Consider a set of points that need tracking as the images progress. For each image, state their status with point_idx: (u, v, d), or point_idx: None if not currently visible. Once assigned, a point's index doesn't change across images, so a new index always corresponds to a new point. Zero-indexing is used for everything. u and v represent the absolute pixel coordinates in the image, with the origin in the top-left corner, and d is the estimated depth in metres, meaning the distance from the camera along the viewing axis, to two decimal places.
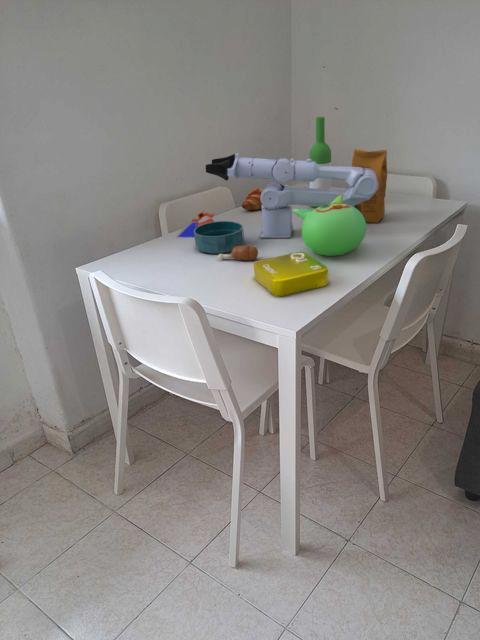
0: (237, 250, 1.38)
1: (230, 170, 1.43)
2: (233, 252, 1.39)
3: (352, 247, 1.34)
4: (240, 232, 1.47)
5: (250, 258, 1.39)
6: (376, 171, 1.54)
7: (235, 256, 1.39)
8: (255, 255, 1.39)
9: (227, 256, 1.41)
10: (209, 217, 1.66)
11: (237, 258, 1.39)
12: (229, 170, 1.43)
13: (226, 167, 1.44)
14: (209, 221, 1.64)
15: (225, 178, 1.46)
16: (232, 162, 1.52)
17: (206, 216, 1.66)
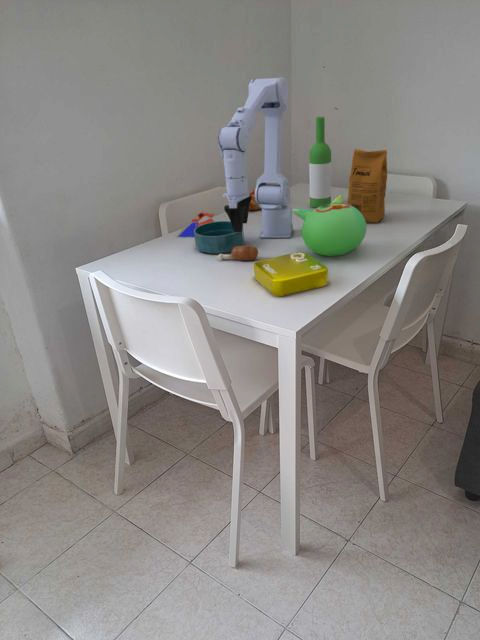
0: (237, 250, 1.38)
1: (230, 204, 1.26)
2: (233, 252, 1.39)
3: (352, 247, 1.34)
4: (240, 232, 1.47)
5: (250, 258, 1.39)
6: (376, 171, 1.54)
7: (235, 256, 1.39)
8: (255, 255, 1.39)
9: (227, 256, 1.41)
10: (209, 217, 1.66)
11: (237, 258, 1.39)
12: (230, 206, 1.26)
13: (229, 209, 1.28)
14: (209, 221, 1.64)
15: (242, 210, 1.28)
16: None
17: (206, 216, 1.66)
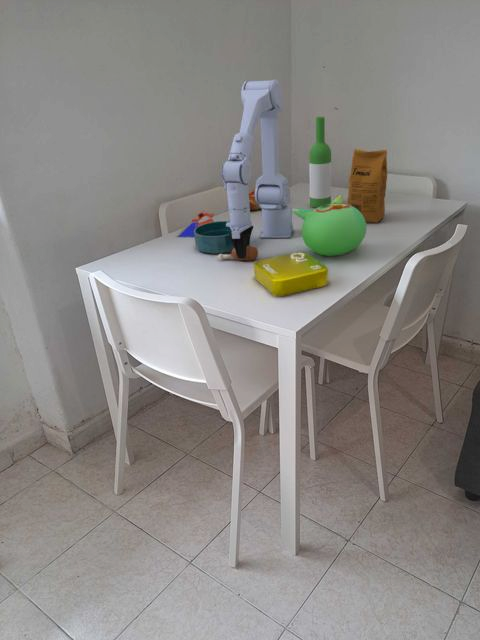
0: None
1: (233, 235, 1.30)
2: (233, 252, 1.39)
3: (352, 247, 1.34)
4: None
5: (250, 258, 1.39)
6: (376, 171, 1.54)
7: (235, 256, 1.39)
8: (255, 255, 1.39)
9: (227, 256, 1.41)
10: (209, 217, 1.66)
11: (237, 258, 1.39)
12: (233, 236, 1.30)
13: None
14: (209, 221, 1.64)
15: (245, 238, 1.33)
16: None
17: (206, 216, 1.66)
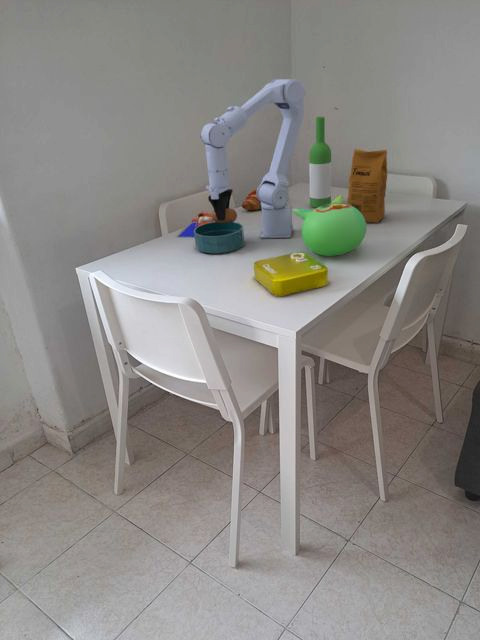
0: None
1: (212, 196, 1.36)
2: (213, 214, 1.45)
3: (352, 247, 1.34)
4: (240, 232, 1.47)
5: (229, 220, 1.45)
6: (376, 171, 1.54)
7: (215, 218, 1.45)
8: (234, 217, 1.45)
9: (207, 219, 1.47)
10: None
11: (217, 220, 1.46)
12: (212, 197, 1.37)
13: (213, 198, 1.39)
14: (209, 221, 1.64)
15: (224, 199, 1.39)
16: (220, 193, 1.45)
17: (206, 216, 1.66)
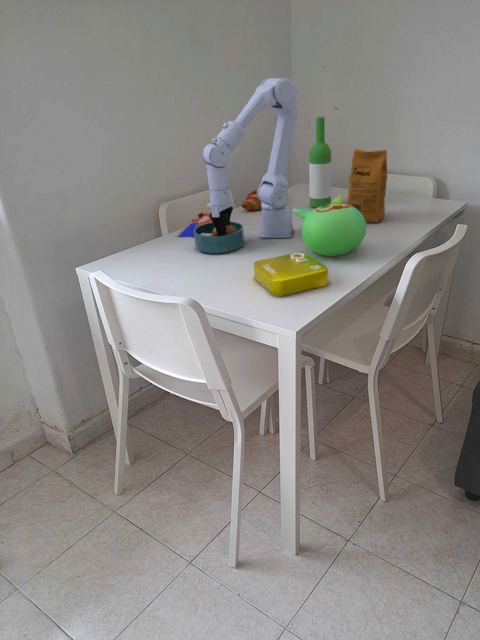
0: None
1: (213, 214, 1.40)
2: (214, 231, 1.49)
3: (352, 247, 1.34)
4: (240, 232, 1.47)
5: None
6: (376, 171, 1.54)
7: (216, 235, 1.49)
8: None
9: (208, 235, 1.50)
10: (209, 217, 1.66)
11: None
12: (213, 215, 1.40)
13: (214, 216, 1.43)
14: (209, 221, 1.64)
15: (225, 217, 1.43)
16: (221, 210, 1.49)
17: (206, 216, 1.66)
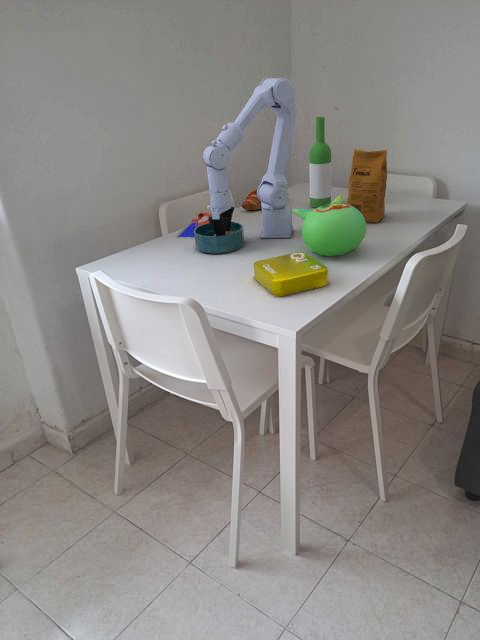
0: None
1: (213, 216, 1.40)
2: None
3: (352, 247, 1.34)
4: (240, 232, 1.47)
5: None
6: (376, 171, 1.54)
7: None
8: None
9: None
10: None
11: None
12: (213, 217, 1.40)
13: (213, 219, 1.42)
14: None
15: (224, 220, 1.42)
16: None
17: (206, 216, 1.66)
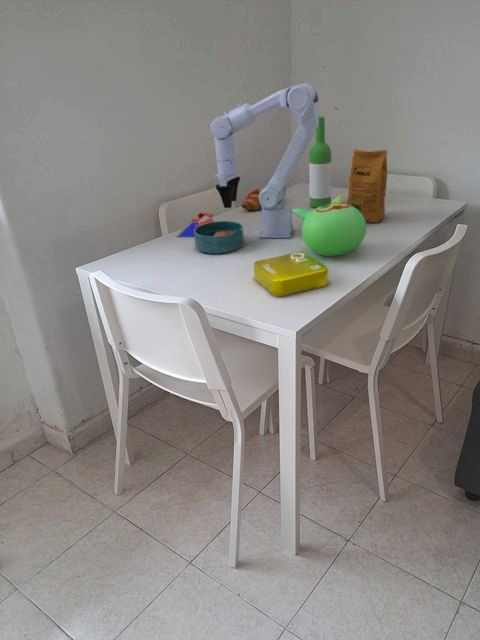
0: (218, 235, 1.49)
1: (220, 183, 1.47)
2: None
3: (352, 247, 1.34)
4: (240, 232, 1.47)
5: None
6: (376, 171, 1.54)
7: None
8: None
9: None
10: (209, 217, 1.66)
11: None
12: (221, 184, 1.48)
13: (220, 187, 1.49)
14: (209, 221, 1.64)
15: (230, 188, 1.49)
16: (229, 180, 1.57)
17: (206, 216, 1.66)
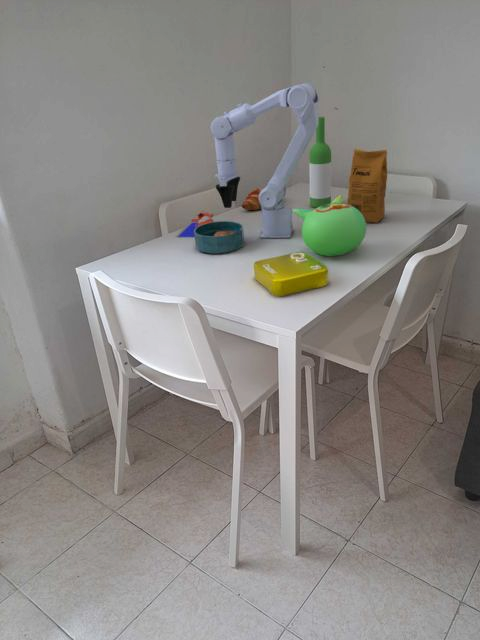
0: (218, 235, 1.49)
1: (220, 183, 1.47)
2: None
3: (352, 247, 1.34)
4: (240, 232, 1.47)
5: None
6: (376, 171, 1.54)
7: None
8: None
9: None
10: (209, 217, 1.66)
11: None
12: (221, 184, 1.48)
13: (220, 187, 1.49)
14: (209, 221, 1.64)
15: (230, 188, 1.49)
16: (229, 180, 1.57)
17: (205, 216, 1.66)
